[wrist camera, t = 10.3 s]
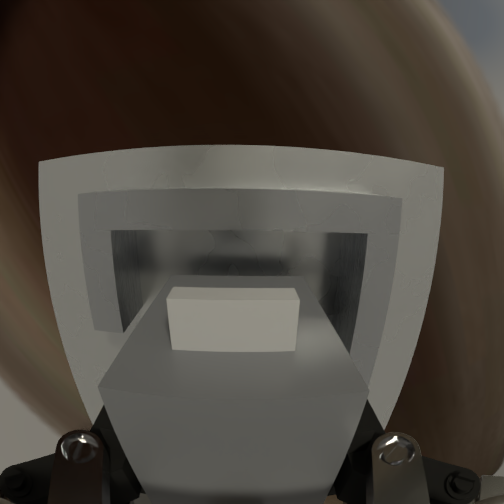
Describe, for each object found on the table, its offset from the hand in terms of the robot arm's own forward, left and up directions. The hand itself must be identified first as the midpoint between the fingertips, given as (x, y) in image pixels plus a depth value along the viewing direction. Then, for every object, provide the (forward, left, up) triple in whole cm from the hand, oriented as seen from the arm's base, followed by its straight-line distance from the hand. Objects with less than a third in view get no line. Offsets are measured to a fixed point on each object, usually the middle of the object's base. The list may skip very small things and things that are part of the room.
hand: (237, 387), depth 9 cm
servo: (0, 0, -2) cm, 2 cm away
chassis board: (0, 0, -4) cm, 4 cm away
